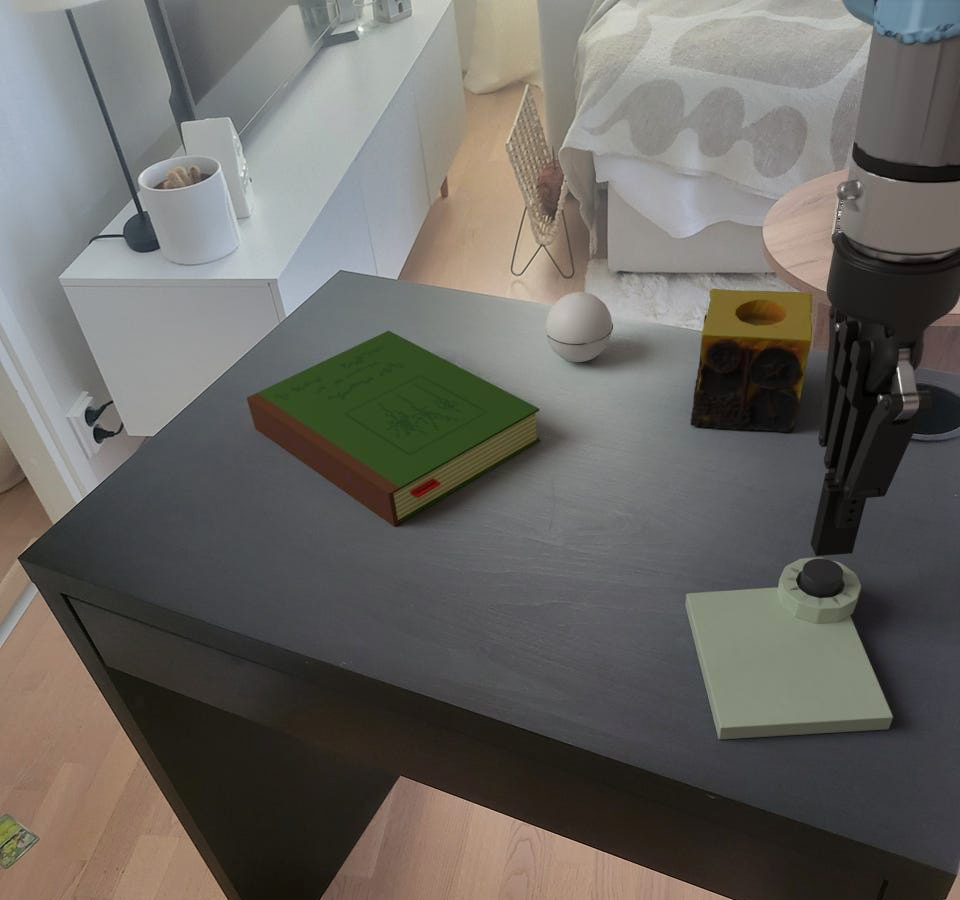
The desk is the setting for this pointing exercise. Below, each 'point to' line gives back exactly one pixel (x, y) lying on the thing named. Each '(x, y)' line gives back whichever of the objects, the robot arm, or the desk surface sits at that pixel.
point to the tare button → (821, 578)
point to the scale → (785, 660)
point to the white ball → (579, 327)
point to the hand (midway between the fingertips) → (831, 548)
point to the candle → (752, 360)
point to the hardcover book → (394, 424)
